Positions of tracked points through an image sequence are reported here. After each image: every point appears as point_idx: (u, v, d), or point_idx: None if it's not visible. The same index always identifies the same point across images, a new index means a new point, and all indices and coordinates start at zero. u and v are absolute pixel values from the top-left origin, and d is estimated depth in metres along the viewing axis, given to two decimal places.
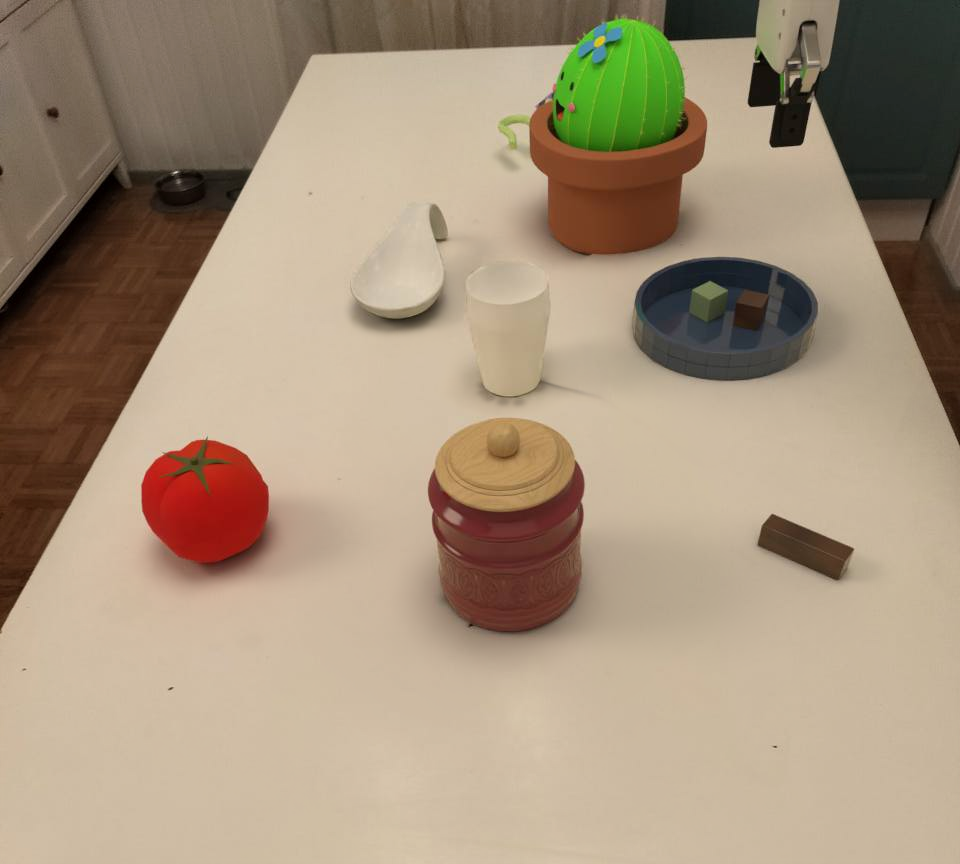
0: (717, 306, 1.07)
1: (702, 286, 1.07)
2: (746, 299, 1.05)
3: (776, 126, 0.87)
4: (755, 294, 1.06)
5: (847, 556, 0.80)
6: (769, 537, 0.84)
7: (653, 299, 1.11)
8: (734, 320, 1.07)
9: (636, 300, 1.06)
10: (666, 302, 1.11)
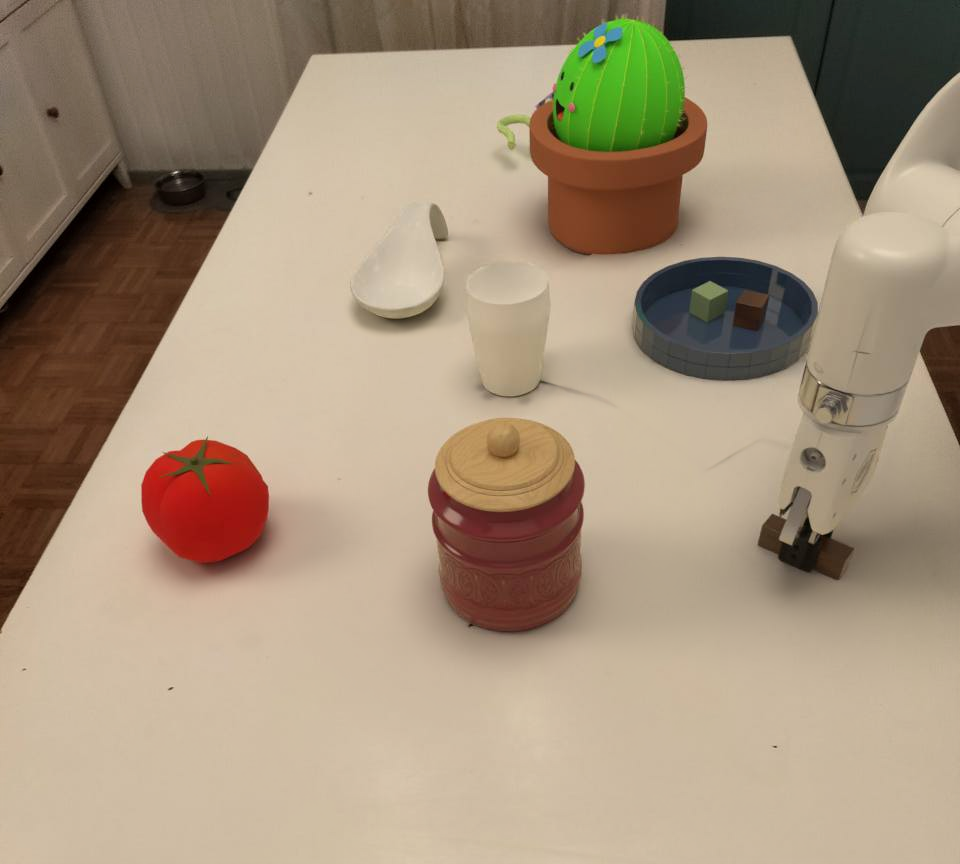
0: (717, 306, 1.07)
1: (702, 286, 1.07)
2: (746, 299, 1.05)
3: (784, 545, 0.82)
4: (755, 294, 1.06)
5: (847, 556, 0.80)
6: (769, 537, 0.84)
7: (653, 299, 1.11)
8: (734, 320, 1.07)
9: (636, 300, 1.06)
10: (666, 302, 1.11)
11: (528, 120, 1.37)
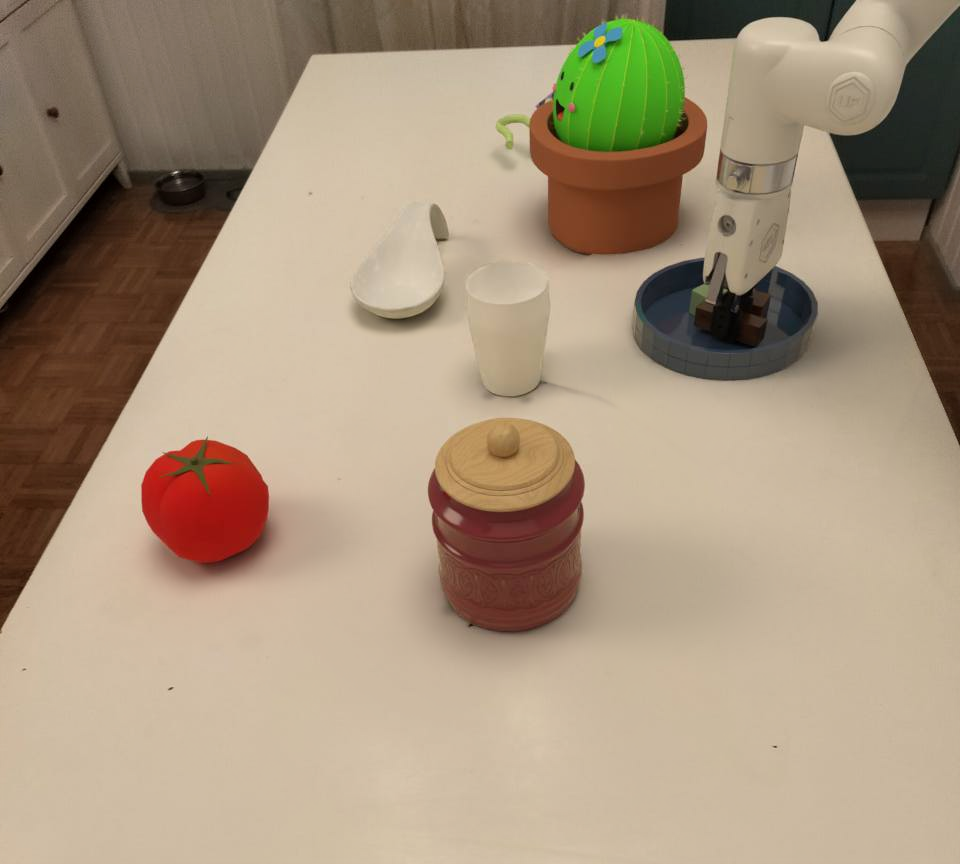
0: None
1: (702, 286, 1.07)
2: None
3: (713, 320, 1.03)
4: (757, 293, 1.06)
5: (761, 324, 1.01)
6: (702, 317, 1.05)
7: (653, 299, 1.11)
8: None
9: (636, 300, 1.06)
10: (666, 302, 1.11)
11: (527, 120, 1.37)
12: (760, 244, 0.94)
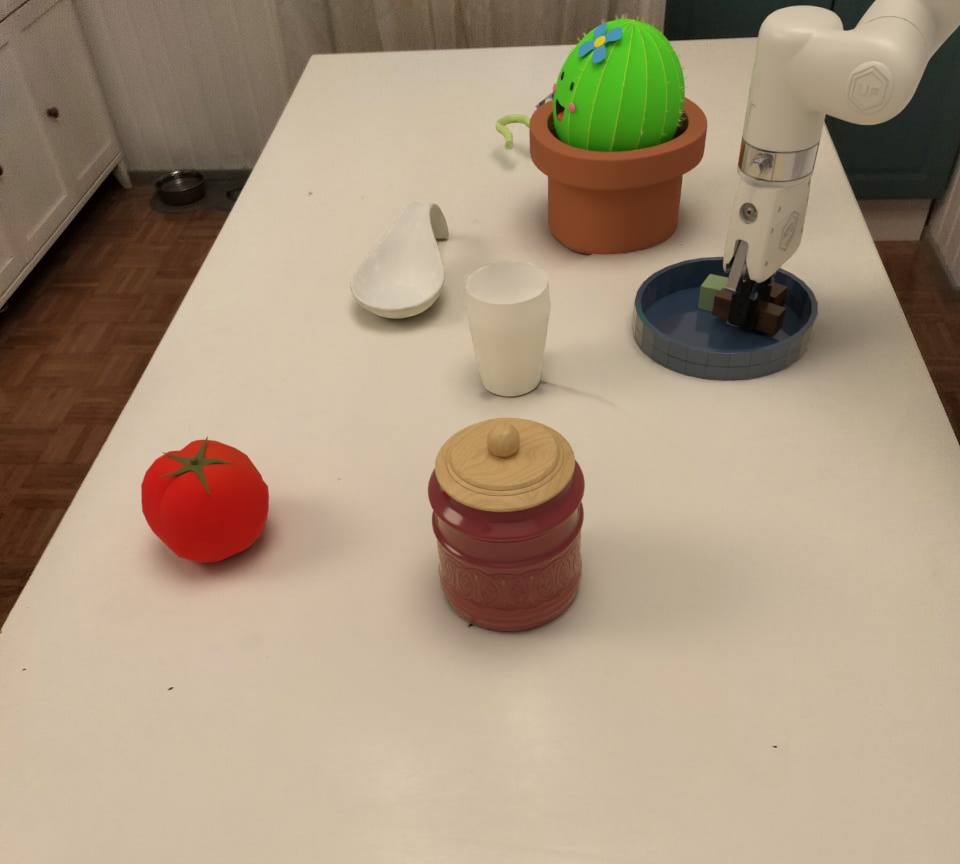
0: None
1: (707, 280, 1.08)
2: None
3: (732, 308, 1.04)
4: (773, 284, 1.07)
5: (780, 313, 1.02)
6: (720, 305, 1.06)
7: (653, 299, 1.11)
8: None
9: (636, 300, 1.06)
10: (666, 302, 1.11)
11: (526, 120, 1.37)
12: (781, 232, 0.94)
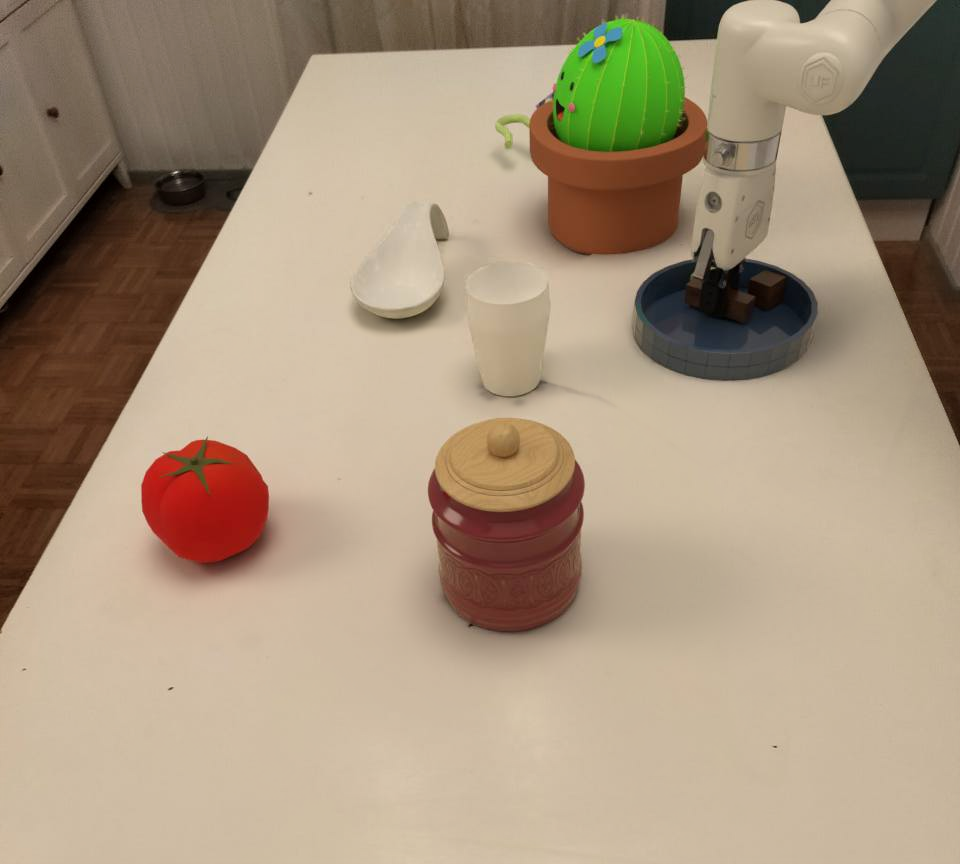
0: None
1: None
2: (760, 277, 1.08)
3: (702, 296, 1.07)
4: (772, 274, 1.08)
5: (749, 301, 1.05)
6: (692, 294, 1.08)
7: (653, 299, 1.11)
8: None
9: (636, 300, 1.06)
10: (666, 302, 1.11)
11: (526, 120, 1.37)
12: (746, 220, 0.97)
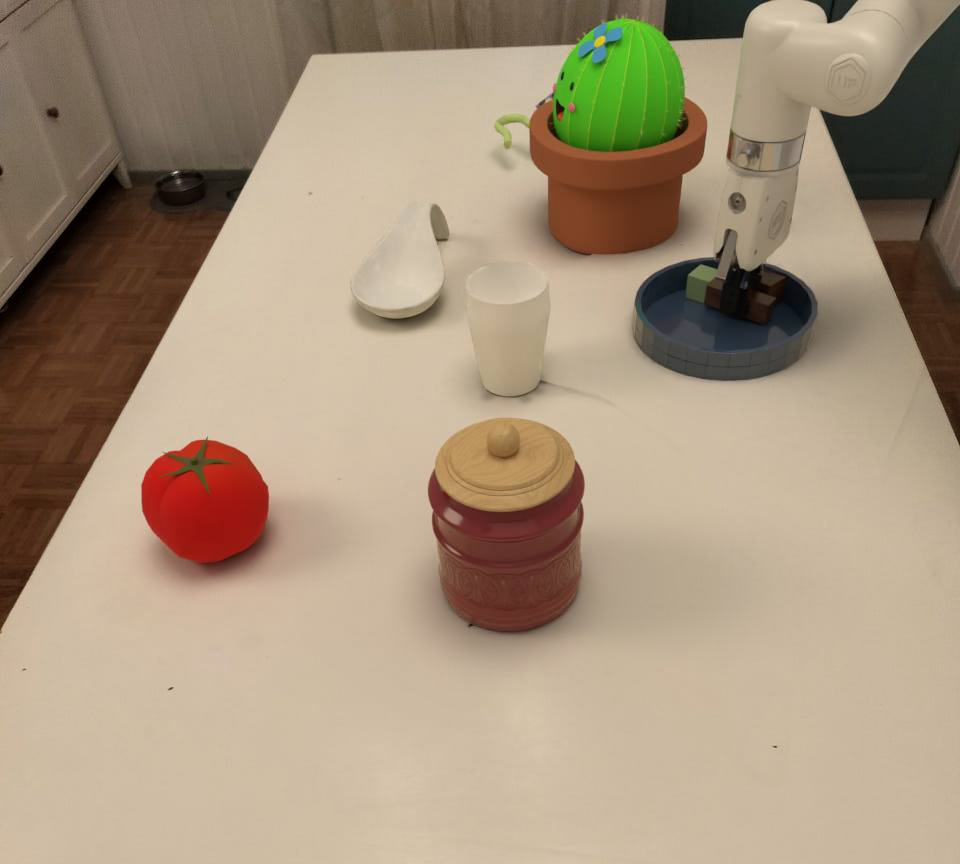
0: None
1: (696, 270, 1.10)
2: None
3: (723, 297, 1.06)
4: (772, 274, 1.08)
5: (770, 302, 1.05)
6: (712, 294, 1.08)
7: (653, 299, 1.11)
8: None
9: (636, 300, 1.06)
10: (666, 302, 1.11)
11: (525, 120, 1.37)
12: (769, 221, 0.97)
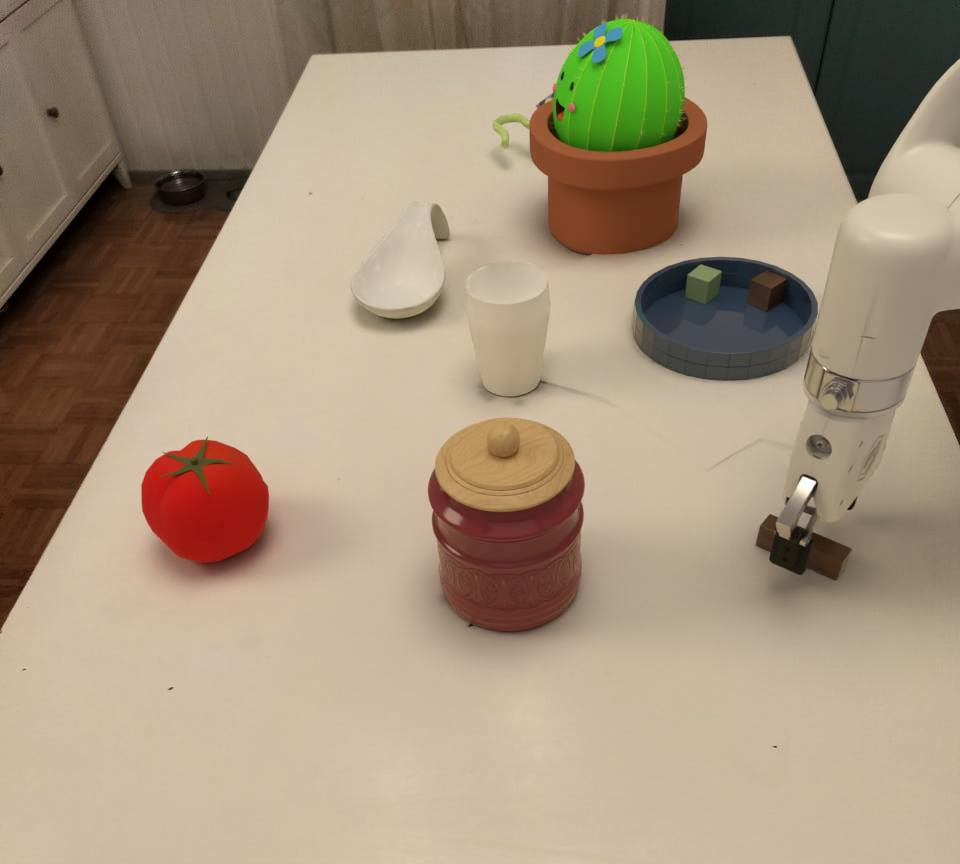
0: (714, 287, 1.10)
1: (696, 270, 1.10)
2: (762, 278, 1.08)
3: (775, 547, 0.79)
4: (774, 275, 1.08)
5: (845, 556, 0.80)
6: (767, 537, 0.84)
7: (653, 299, 1.11)
8: (748, 297, 1.09)
9: (636, 300, 1.06)
10: (666, 302, 1.11)
11: (523, 119, 1.37)
12: (861, 464, 0.72)
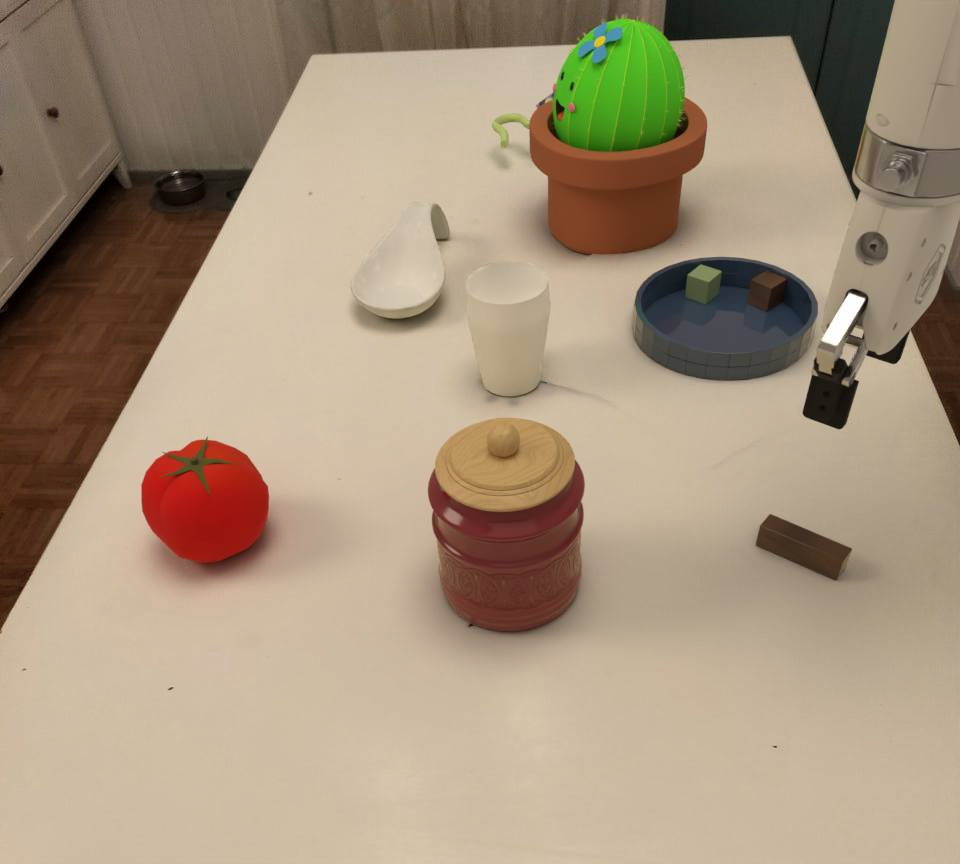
0: (714, 287, 1.10)
1: (696, 270, 1.10)
2: (762, 278, 1.08)
3: (810, 395, 0.67)
4: (774, 275, 1.08)
5: (845, 556, 0.80)
6: (767, 537, 0.84)
7: (653, 299, 1.11)
8: (748, 297, 1.09)
9: (636, 300, 1.06)
10: (666, 302, 1.11)
11: (523, 119, 1.37)
12: (920, 277, 0.59)
